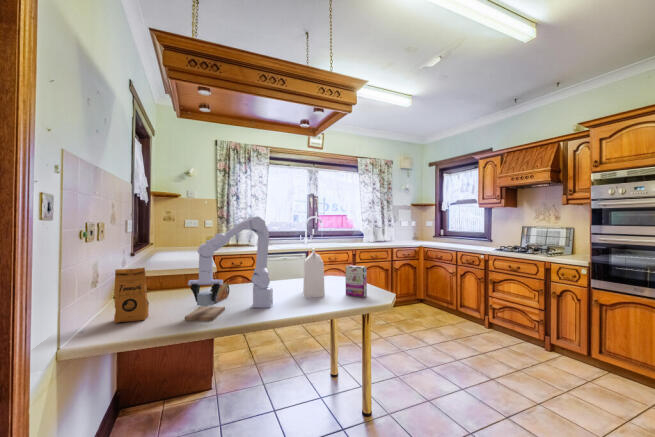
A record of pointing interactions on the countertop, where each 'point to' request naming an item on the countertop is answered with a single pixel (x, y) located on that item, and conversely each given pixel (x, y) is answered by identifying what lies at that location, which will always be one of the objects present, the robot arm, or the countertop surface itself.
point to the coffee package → (130, 295)
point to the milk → (313, 276)
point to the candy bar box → (356, 281)
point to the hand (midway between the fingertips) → (205, 301)
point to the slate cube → (204, 298)
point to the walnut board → (204, 314)
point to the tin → (222, 292)
